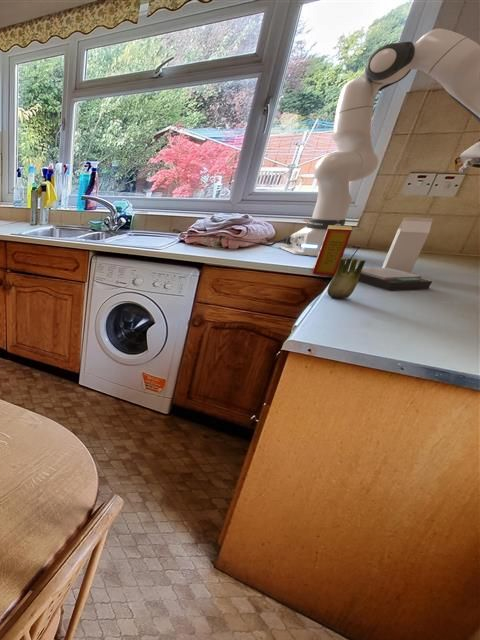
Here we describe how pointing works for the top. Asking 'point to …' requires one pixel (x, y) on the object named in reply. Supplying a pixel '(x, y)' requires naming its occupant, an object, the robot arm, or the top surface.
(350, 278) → the fennel bulb
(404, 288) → the scale
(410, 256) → the milk carton
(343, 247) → the baking soda box
